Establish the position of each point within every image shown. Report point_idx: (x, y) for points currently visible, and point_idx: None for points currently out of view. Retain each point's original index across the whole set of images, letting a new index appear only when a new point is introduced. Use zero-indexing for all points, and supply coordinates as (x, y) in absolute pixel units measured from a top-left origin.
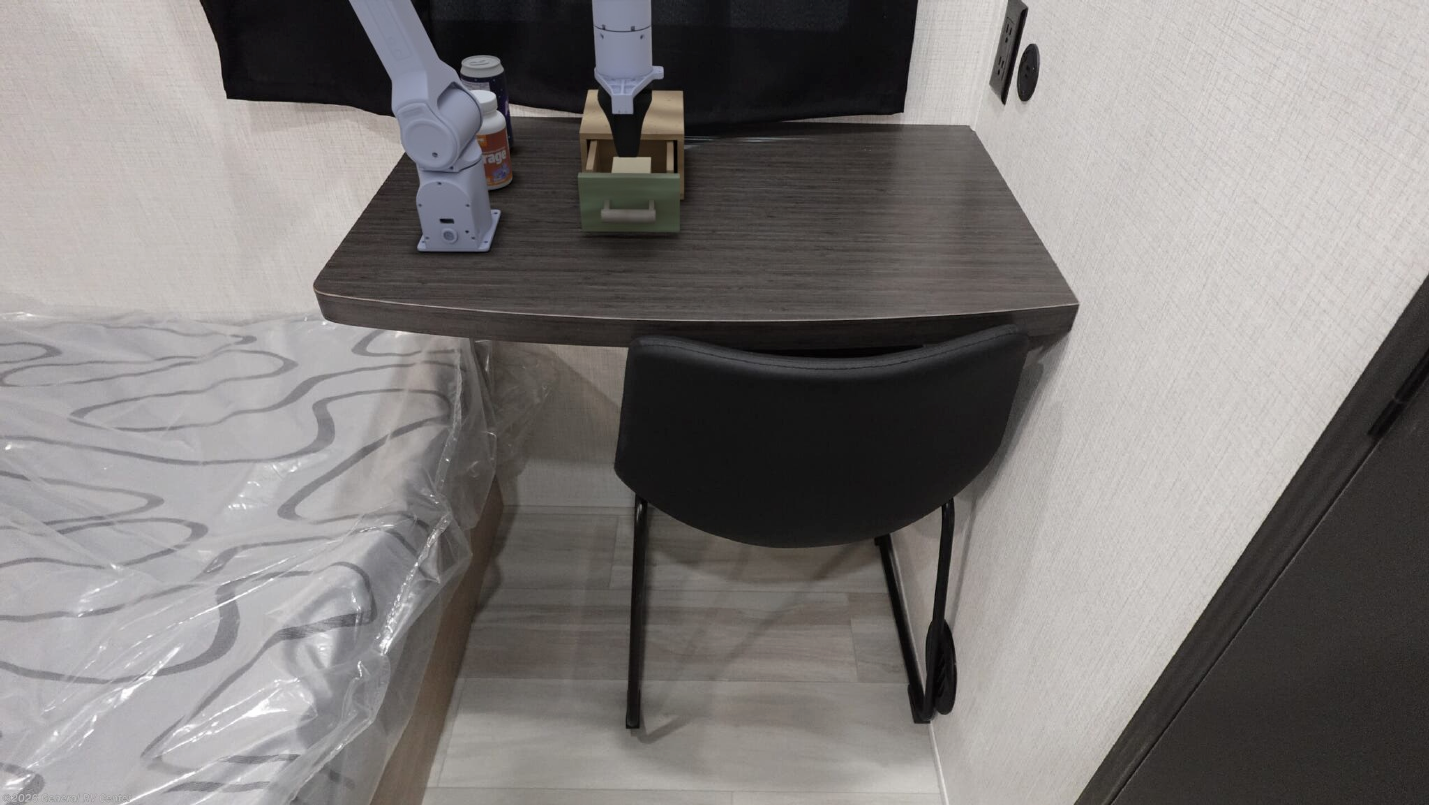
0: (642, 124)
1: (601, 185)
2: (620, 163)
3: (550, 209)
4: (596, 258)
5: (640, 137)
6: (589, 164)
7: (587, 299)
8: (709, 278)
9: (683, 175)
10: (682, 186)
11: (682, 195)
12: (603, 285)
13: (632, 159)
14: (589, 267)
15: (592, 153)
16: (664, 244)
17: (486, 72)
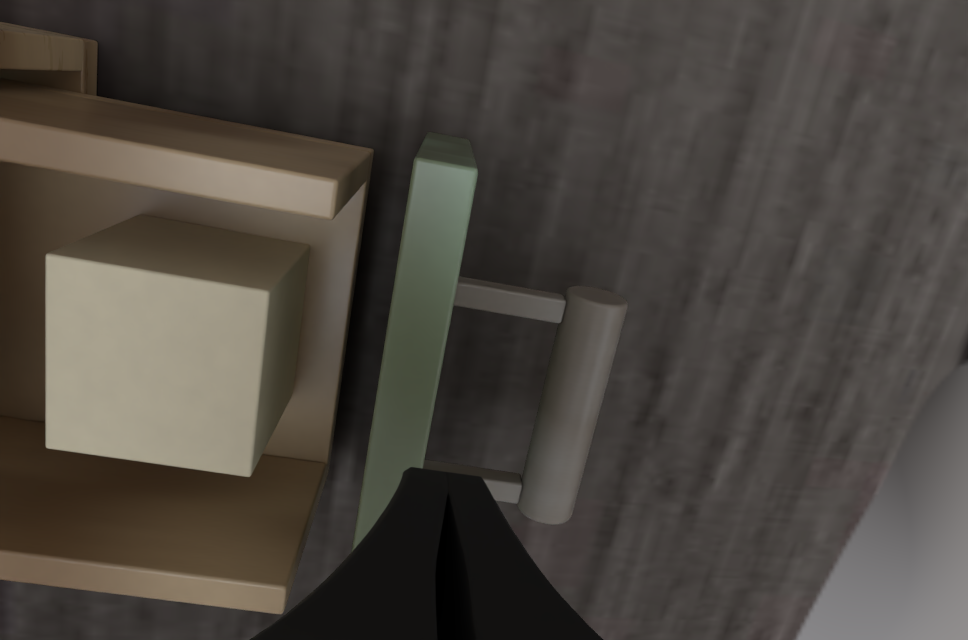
0: (579, 617)
1: None
2: (136, 425)
3: None
4: None
5: (519, 542)
6: (230, 597)
7: (785, 496)
8: (792, 82)
9: (29, 35)
10: (64, 44)
11: (88, 46)
12: (722, 446)
13: (80, 358)
14: (602, 476)
15: (87, 574)
16: (499, 206)
17: None
